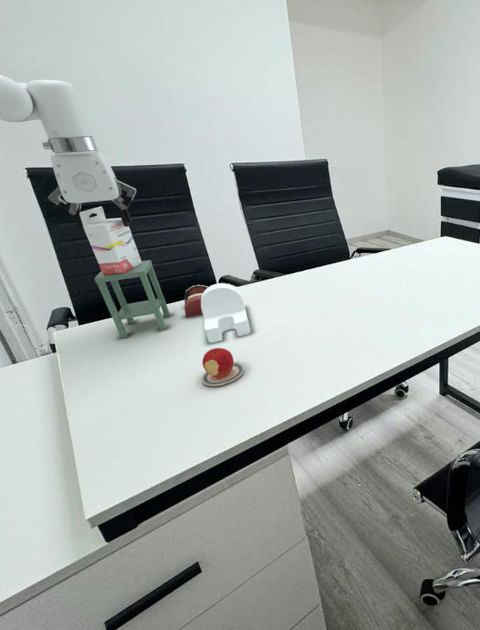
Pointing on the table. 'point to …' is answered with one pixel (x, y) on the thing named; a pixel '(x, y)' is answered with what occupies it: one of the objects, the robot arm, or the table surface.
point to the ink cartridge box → (110, 242)
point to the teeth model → (194, 300)
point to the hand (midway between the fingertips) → (107, 227)
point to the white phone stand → (223, 311)
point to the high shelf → (139, 307)
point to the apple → (220, 367)
